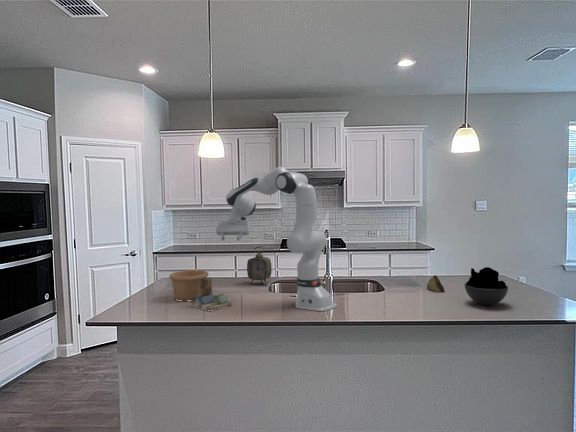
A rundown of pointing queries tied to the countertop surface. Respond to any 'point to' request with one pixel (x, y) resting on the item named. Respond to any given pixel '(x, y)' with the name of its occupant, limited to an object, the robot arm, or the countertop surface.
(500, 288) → the bowl of black rocks
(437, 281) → the rock
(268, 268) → the tabletop clock
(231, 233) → the robot arm
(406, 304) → the countertop surface
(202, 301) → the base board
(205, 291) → the pillar
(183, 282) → the pottery
